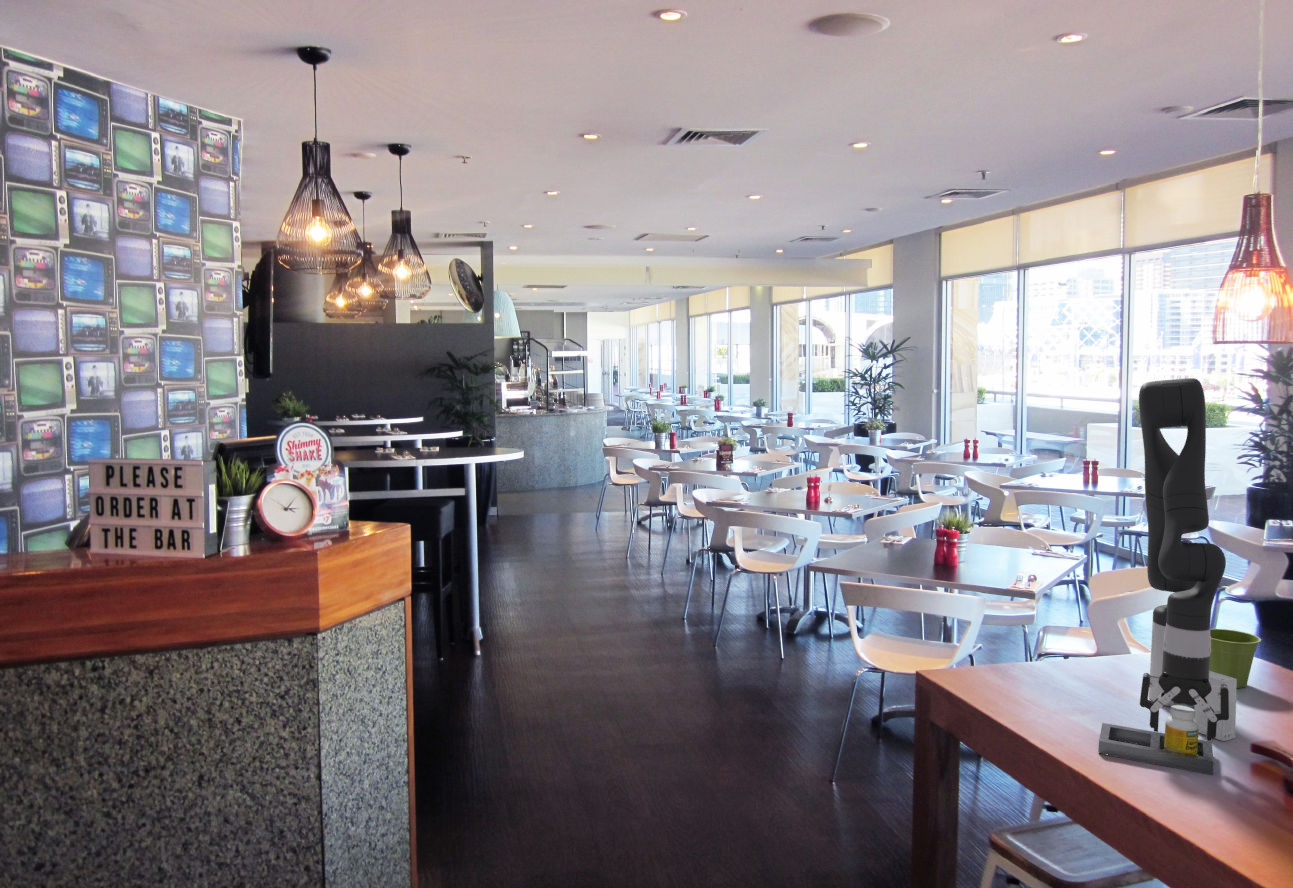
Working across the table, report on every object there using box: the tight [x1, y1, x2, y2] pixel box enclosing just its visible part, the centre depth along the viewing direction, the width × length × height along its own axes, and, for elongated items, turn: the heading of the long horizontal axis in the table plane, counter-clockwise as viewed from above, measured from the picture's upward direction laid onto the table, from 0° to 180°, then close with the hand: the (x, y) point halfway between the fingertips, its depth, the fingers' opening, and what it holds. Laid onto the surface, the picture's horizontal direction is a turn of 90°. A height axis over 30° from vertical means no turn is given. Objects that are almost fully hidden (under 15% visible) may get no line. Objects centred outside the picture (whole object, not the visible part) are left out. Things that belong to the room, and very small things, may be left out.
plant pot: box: [1209, 628, 1262, 689], centre depth 213 cm, size 12×12×11 cm
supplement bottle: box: [1163, 705, 1199, 756], centre depth 173 cm, size 5×5×10 cm
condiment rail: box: [1097, 722, 1214, 776], centre depth 175 cm, size 10×18×2 cm, turn 61°
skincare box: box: [1193, 671, 1237, 742], centre depth 184 cm, size 6×4×12 cm
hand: (1181, 734), depth 173 cm, fingers open, 8 cm apart
